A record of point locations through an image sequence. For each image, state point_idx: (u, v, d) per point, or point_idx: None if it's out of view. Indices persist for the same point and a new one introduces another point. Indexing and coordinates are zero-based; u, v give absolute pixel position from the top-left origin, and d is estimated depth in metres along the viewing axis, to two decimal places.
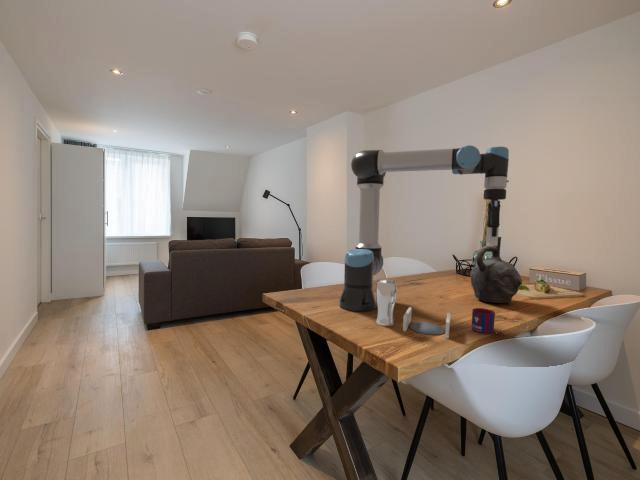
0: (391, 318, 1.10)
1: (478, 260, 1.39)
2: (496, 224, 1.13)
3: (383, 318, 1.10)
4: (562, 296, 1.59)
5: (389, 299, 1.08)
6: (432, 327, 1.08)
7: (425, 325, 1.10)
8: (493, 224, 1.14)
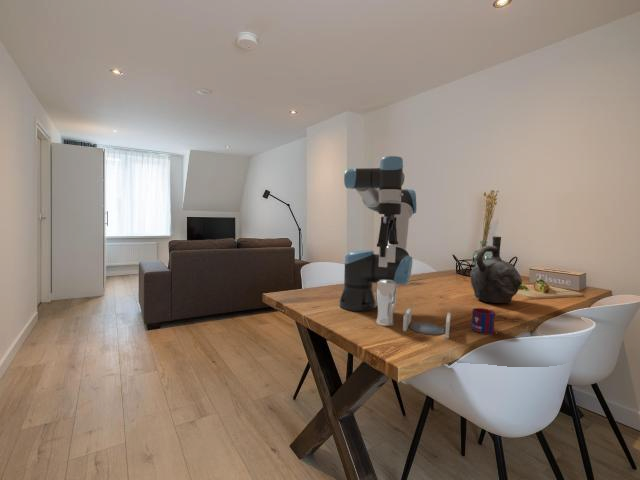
0: (391, 318, 1.10)
1: (478, 260, 1.39)
2: (382, 243, 1.01)
3: (383, 318, 1.10)
4: (561, 296, 1.59)
5: (389, 299, 1.08)
6: (432, 327, 1.08)
7: (425, 325, 1.10)
8: (379, 243, 1.01)
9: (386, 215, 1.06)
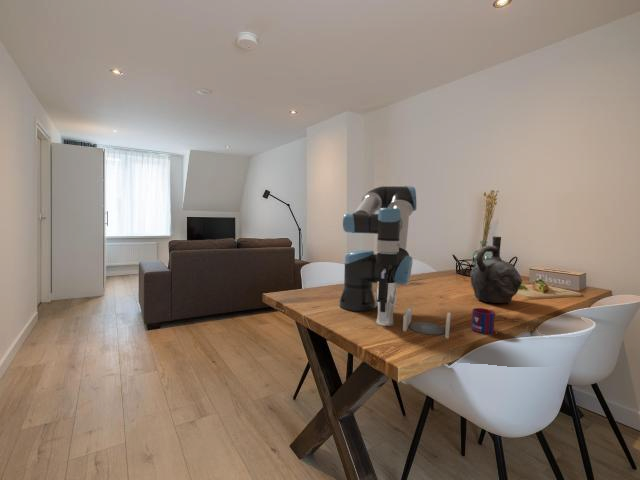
0: (391, 318, 1.10)
1: (478, 260, 1.39)
2: (382, 301, 1.05)
3: None
4: (560, 296, 1.59)
5: (389, 299, 1.08)
6: (432, 327, 1.08)
7: (425, 325, 1.10)
8: (379, 300, 1.06)
9: (384, 266, 1.08)
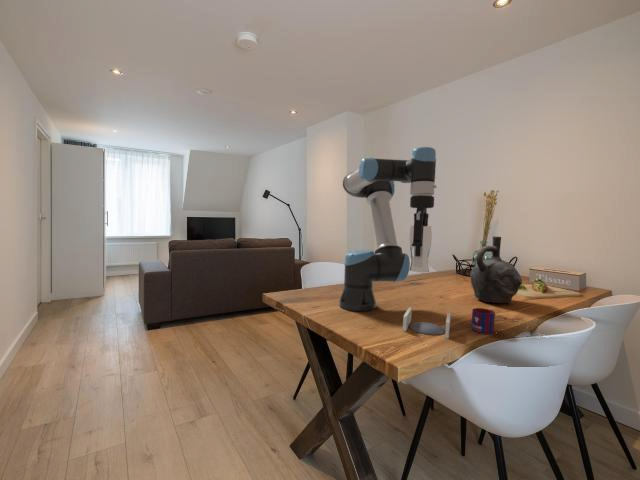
0: (426, 264, 1.04)
1: (478, 260, 1.39)
2: (418, 243, 1.00)
3: None
4: (559, 296, 1.59)
5: (424, 243, 1.03)
6: (432, 327, 1.08)
7: (425, 325, 1.10)
8: (415, 242, 1.00)
9: (419, 208, 1.02)
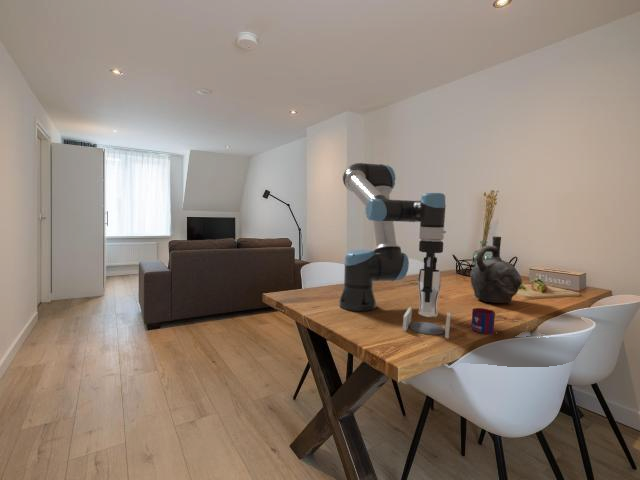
0: (435, 309, 1.05)
1: (478, 260, 1.39)
2: (428, 290, 1.00)
3: None
4: (559, 296, 1.60)
5: (434, 289, 1.03)
6: (432, 327, 1.08)
7: (425, 325, 1.10)
8: (425, 289, 1.01)
9: (429, 254, 1.03)
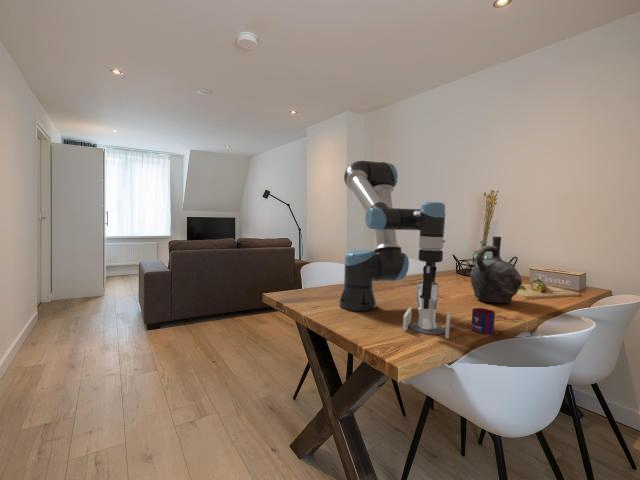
0: (434, 322, 1.05)
1: (478, 260, 1.39)
2: (427, 296, 0.98)
3: (425, 322, 1.05)
4: (558, 295, 1.60)
5: (432, 302, 1.04)
6: None
7: None
8: (423, 296, 0.98)
9: (428, 263, 1.03)
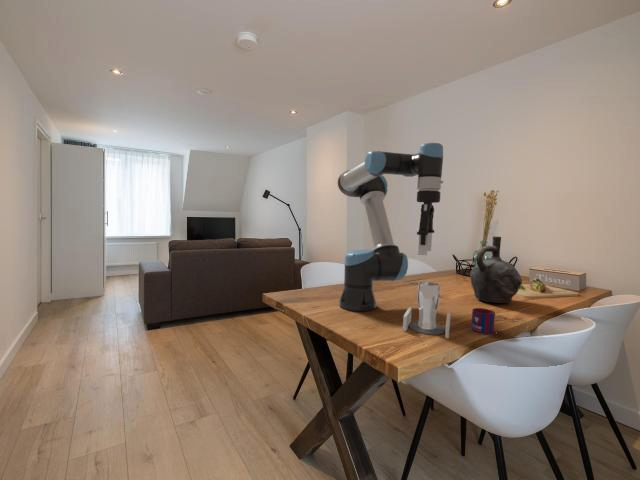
0: (434, 322, 1.05)
1: (478, 260, 1.39)
2: (423, 231, 1.00)
3: (425, 322, 1.05)
4: (557, 295, 1.60)
5: (433, 302, 1.04)
6: None
7: None
8: (420, 231, 1.01)
9: (426, 203, 1.05)
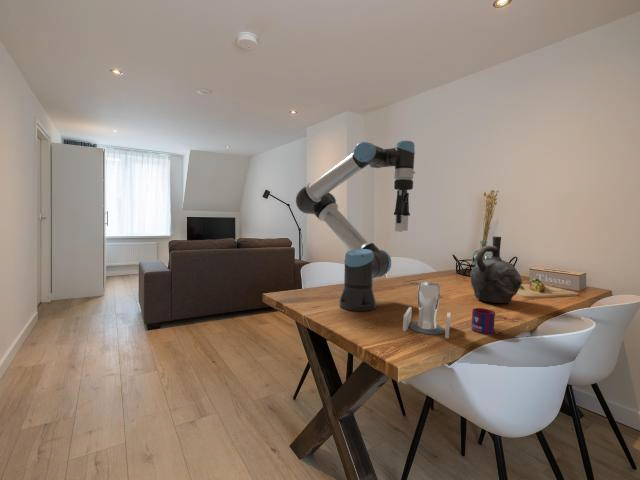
0: (434, 322, 1.05)
1: (478, 260, 1.39)
2: (398, 211, 1.24)
3: (425, 322, 1.05)
4: (557, 295, 1.60)
5: (433, 302, 1.04)
6: None
7: None
8: (396, 211, 1.24)
9: (401, 189, 1.29)
